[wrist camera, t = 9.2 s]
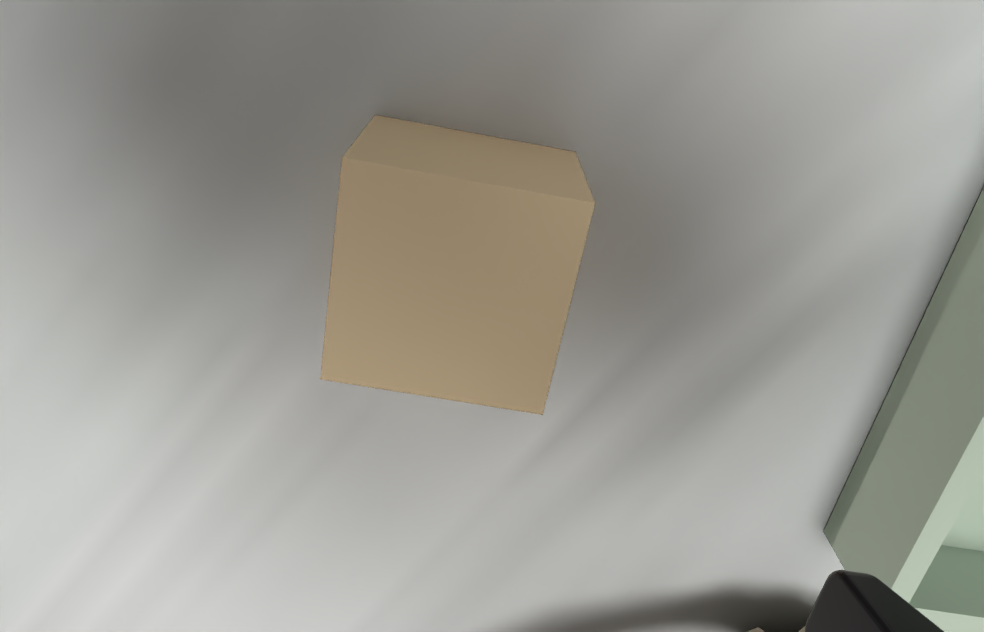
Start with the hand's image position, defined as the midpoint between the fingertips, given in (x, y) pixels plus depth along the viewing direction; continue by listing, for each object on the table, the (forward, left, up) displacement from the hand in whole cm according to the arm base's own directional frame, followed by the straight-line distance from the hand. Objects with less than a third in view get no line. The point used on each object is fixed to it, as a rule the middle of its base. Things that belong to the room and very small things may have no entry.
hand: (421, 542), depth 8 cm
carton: (0, 0, -11) cm, 11 cm away
